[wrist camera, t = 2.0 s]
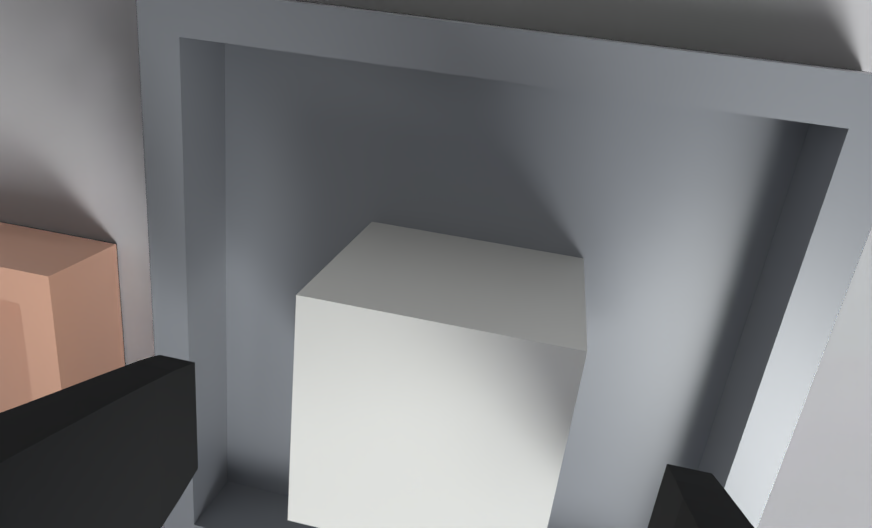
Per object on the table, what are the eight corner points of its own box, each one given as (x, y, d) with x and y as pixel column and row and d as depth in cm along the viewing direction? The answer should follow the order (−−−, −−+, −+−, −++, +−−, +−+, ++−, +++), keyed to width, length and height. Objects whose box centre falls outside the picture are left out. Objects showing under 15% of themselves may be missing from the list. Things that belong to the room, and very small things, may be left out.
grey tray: (682, 598, 16) (698, 681, 14) (211, 483, 18) (164, 542, 16) (864, 71, 11) (927, 80, 9) (202, -12, 13) (135, -18, 11)
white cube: (545, 440, 14) (535, 581, 11) (357, 399, 15) (287, 520, 11) (583, 257, 13) (586, 351, 9) (371, 221, 14) (296, 294, 10)
